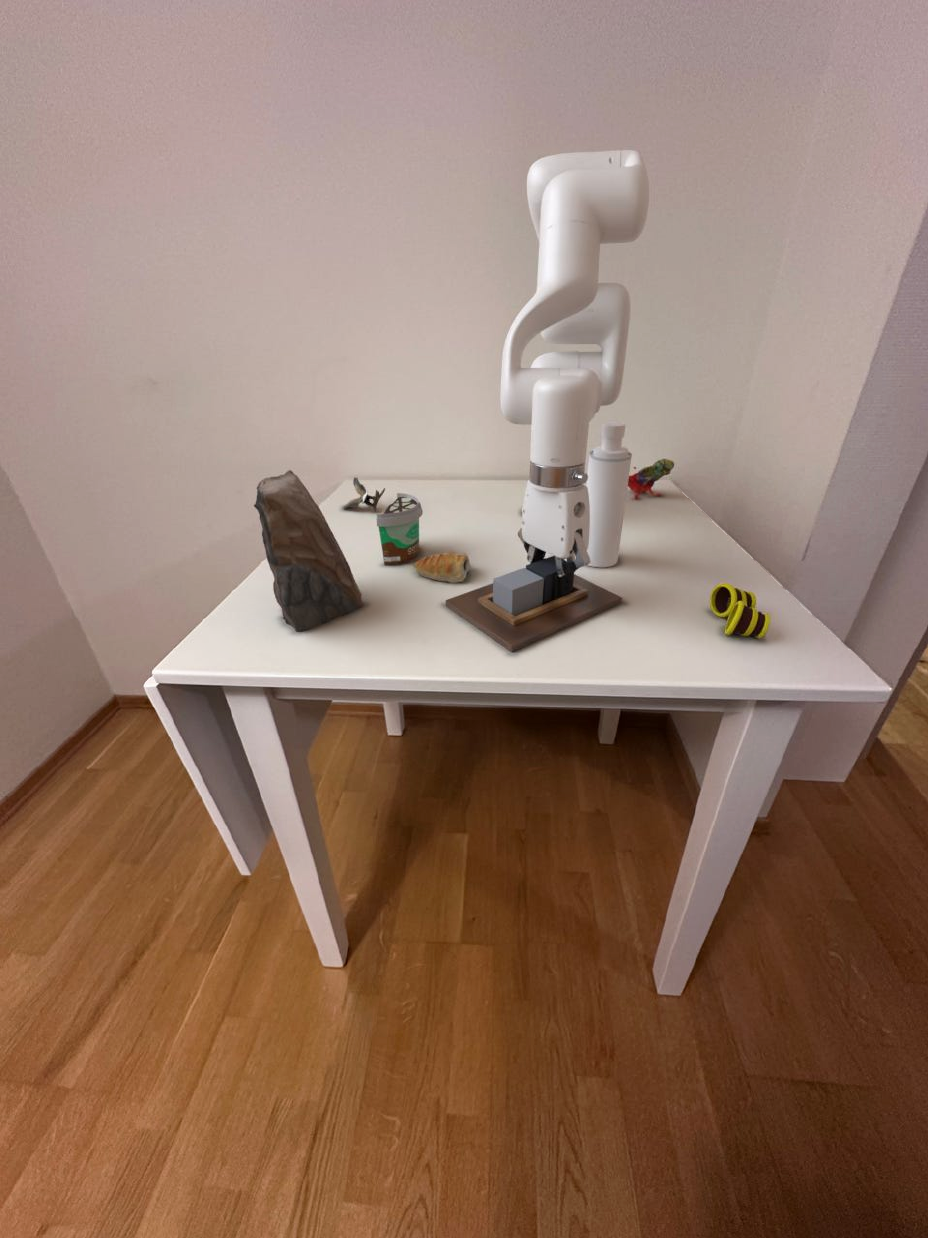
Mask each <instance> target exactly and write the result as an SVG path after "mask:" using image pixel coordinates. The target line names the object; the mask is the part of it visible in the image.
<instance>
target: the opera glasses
mask: <svg viewBox="0 0 928 1238" xmlns="http://www.w3.org/2000/svg"><path fill="white" fill-rule="evenodd" d="M709 604H710V608H711V611H712V612H713V614H714V615H715V616H717V617H719V618H727V620H726V624H725V627H724V634H725V635H726V636H730V635H732V634H735V635H740V636H742V637H749V636H750V637H755V638H757V639H762V638H763V637H765V635H766V634H767V632H768V630H769V627H770V624H771V615H770V614H769V613H766V612H763V613H762V612H761V611H760V610H758V609H756V606H757V597H756V595H755V593H754V592H752V591H746V590H743V589H741V588H739V587H734V586H733V585H732V584H730V583H728V582H722V583H718V584H717V585H716V586H714V587H713V589H712V591H711V593H710V597H709Z"/></svg>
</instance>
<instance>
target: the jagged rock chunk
mask: <svg viewBox="0 0 928 1238" xmlns="http://www.w3.org/2000/svg"><path fill="white" fill-rule="evenodd" d="M256 493H257V494H256V501H255V503H254V504H253V506H254V508H255V509H256V510H257V512H258V515H259V521H260V525H261V529H262V530H261V538H262V544H263V547H264V551H265V556H266V561H267V563H268V566H269V570H270V571H271V573H272V575H273V578H274V580H273V583H272V587H273V589H272V590H273V594H274V597H275V600H276V603H277V604H278V605H279V607H280V608H281V613H282V619H283V620H284V622H285V624H287V625H289V626H291V627H292V628H293V629H294V630H295V632H297V633H298V632H299V633H300V632H305V631H309V630H310V629H313V628H316V626H318V625H321V624H326V623H328V622H329V621H331V620H334V619H336V618H339V617H342V616H347V615H349V614H350V613H352V612H354V611H355V610H359V609H360V608H363V607H364V606H365V605H364V603H363V600H362V592H361V590H360V588H359V586H358V584H357V582H356V579H355V578H354V574H353V572H352V570H351V566H350V564H349V562H348V561H347V558H346V556H345V554H344V552H343V550H342V548H341V546H340V544H339V542H338V541H337V539H336V536H335V534H334V533H333V532H332V530H331V528H330V526H329V523H328V522H327V519H326V517H325V516H324V514H323V512H322V510H321V509H320V506H319V505H318V504H317V503H316V502H315V499H314V498H313V496H312V495H311V493H310V492H309V490H308V489H307V487H306V486H305V485H304V483H303V482H302V481H301V479H300V478H299V477H298V475H297V474H295V473H294V472H293V471H292V470H291V469H289V470H287V471H286V472H285V473H284V474H279V475H277V476H269V477H265V478H263V479H262V480H260V481H259V482H258V484H257V487H256Z"/></svg>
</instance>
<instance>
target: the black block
mask: <svg viewBox="0 0 928 1238" xmlns="http://www.w3.org/2000/svg"><path fill="white" fill-rule="evenodd" d="M545 558H546V559H543V560H540V561H537V562H534V563H531V562H530V563H531V564H530V563H529V564H526V565H525V569H527V570H529V571H531V572H533V573H535V574H537V575H538V576H540V577H542V578H544V586H543V602H546V601H549V600H551V599H553V597H552V594H553V579H554V575H557V569H556V560H555V556H554V555H551V556H549V557H545ZM565 565H567V560H566V559H564V566H565ZM574 574H575V572H574V573H572V576H571V587H570V592H571V591H573V581H574Z"/></svg>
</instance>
